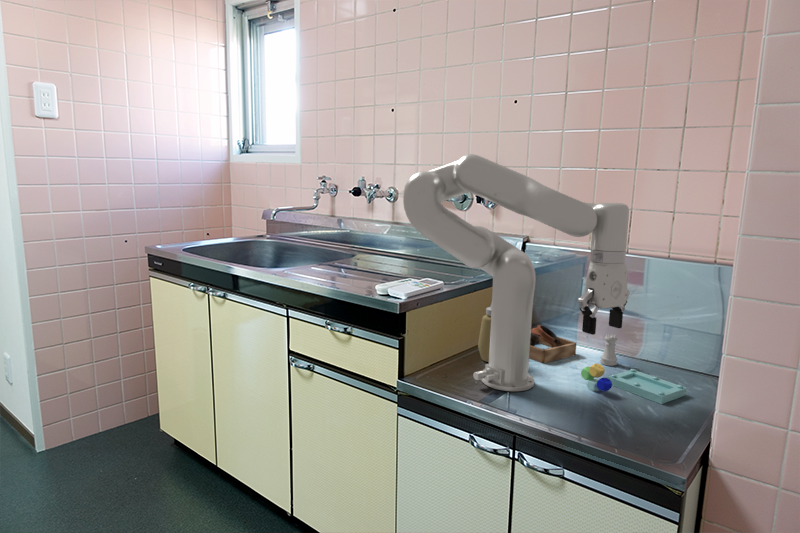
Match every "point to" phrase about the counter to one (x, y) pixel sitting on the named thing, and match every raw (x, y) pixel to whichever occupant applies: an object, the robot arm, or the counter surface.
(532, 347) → the tray
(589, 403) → the counter surface
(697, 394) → the counter surface
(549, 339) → the pottery mug
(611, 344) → the rook chess piece
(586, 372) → the multicolored ball cluster
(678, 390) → the baseplate
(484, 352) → the squeeze bottle
